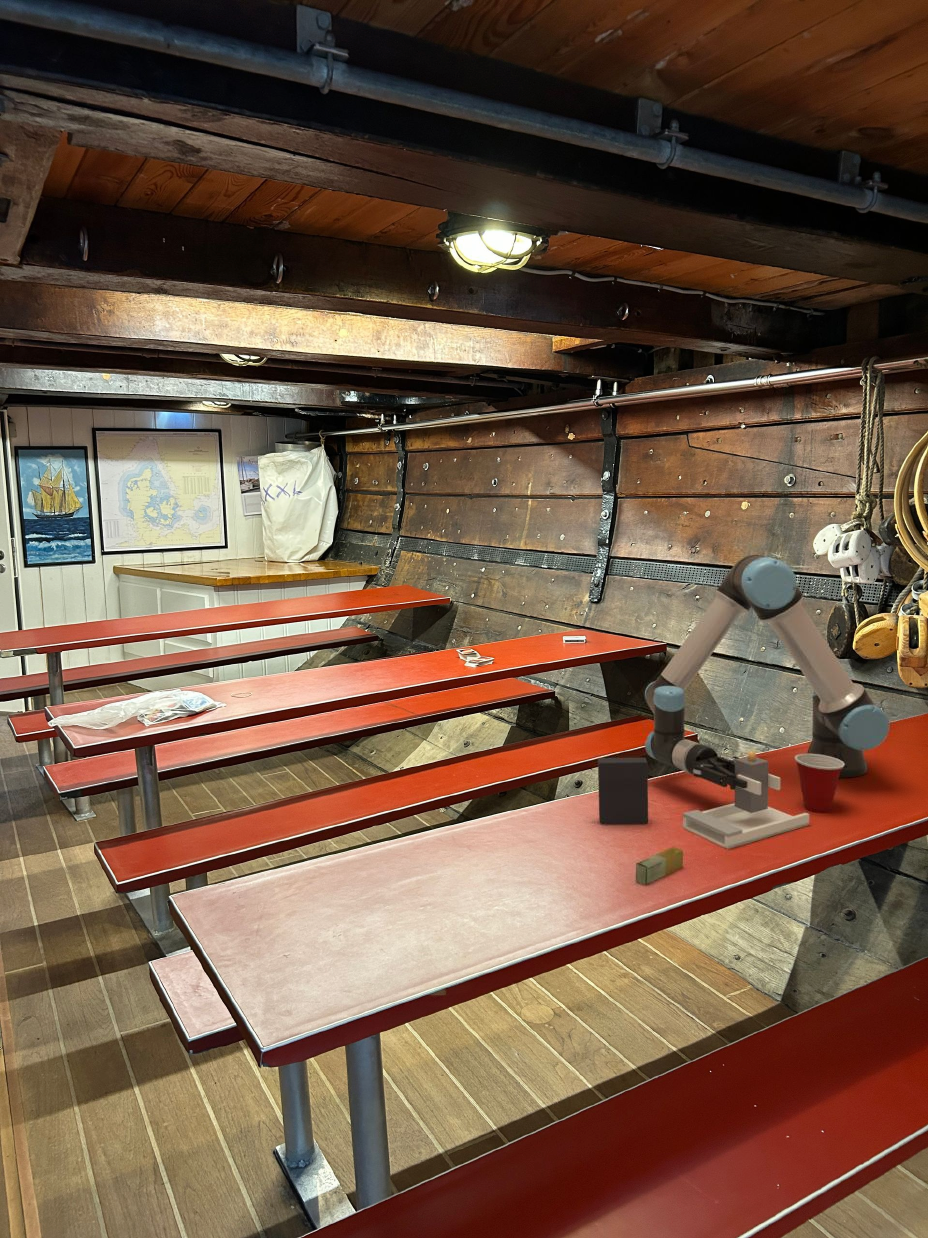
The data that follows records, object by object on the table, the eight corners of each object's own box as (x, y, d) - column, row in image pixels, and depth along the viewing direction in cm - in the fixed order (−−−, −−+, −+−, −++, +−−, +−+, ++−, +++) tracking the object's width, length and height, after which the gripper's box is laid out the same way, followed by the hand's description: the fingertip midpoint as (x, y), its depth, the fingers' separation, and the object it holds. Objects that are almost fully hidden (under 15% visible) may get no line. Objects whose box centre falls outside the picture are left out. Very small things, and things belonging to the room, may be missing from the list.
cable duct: (761, 806, 203) (761, 792, 203) (809, 825, 191) (809, 810, 191) (683, 827, 193) (682, 813, 192) (728, 849, 180) (728, 834, 180)
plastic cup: (851, 816, 195) (853, 765, 194) (804, 817, 196) (804, 767, 194) (832, 799, 206) (833, 751, 204) (787, 800, 206) (787, 752, 205)
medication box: (645, 887, 166) (645, 867, 165) (634, 882, 168) (634, 863, 167) (683, 868, 173) (683, 849, 173) (672, 863, 175) (672, 845, 175)
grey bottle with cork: (750, 802, 196) (751, 747, 194) (767, 808, 191) (768, 752, 189) (734, 806, 193) (735, 750, 191) (751, 813, 189) (751, 756, 187)
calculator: (646, 818, 199) (645, 756, 197) (648, 825, 195) (647, 762, 193) (599, 818, 200) (597, 757, 198) (600, 825, 196) (598, 762, 194)
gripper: (723, 767, 212) (798, 795, 191) (666, 780, 204) (738, 811, 183) (724, 738, 211) (799, 762, 190) (666, 750, 203) (738, 777, 182)
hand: (769, 786), depth 187 cm, fingers closed on grey bottle with cork, 5 cm apart
